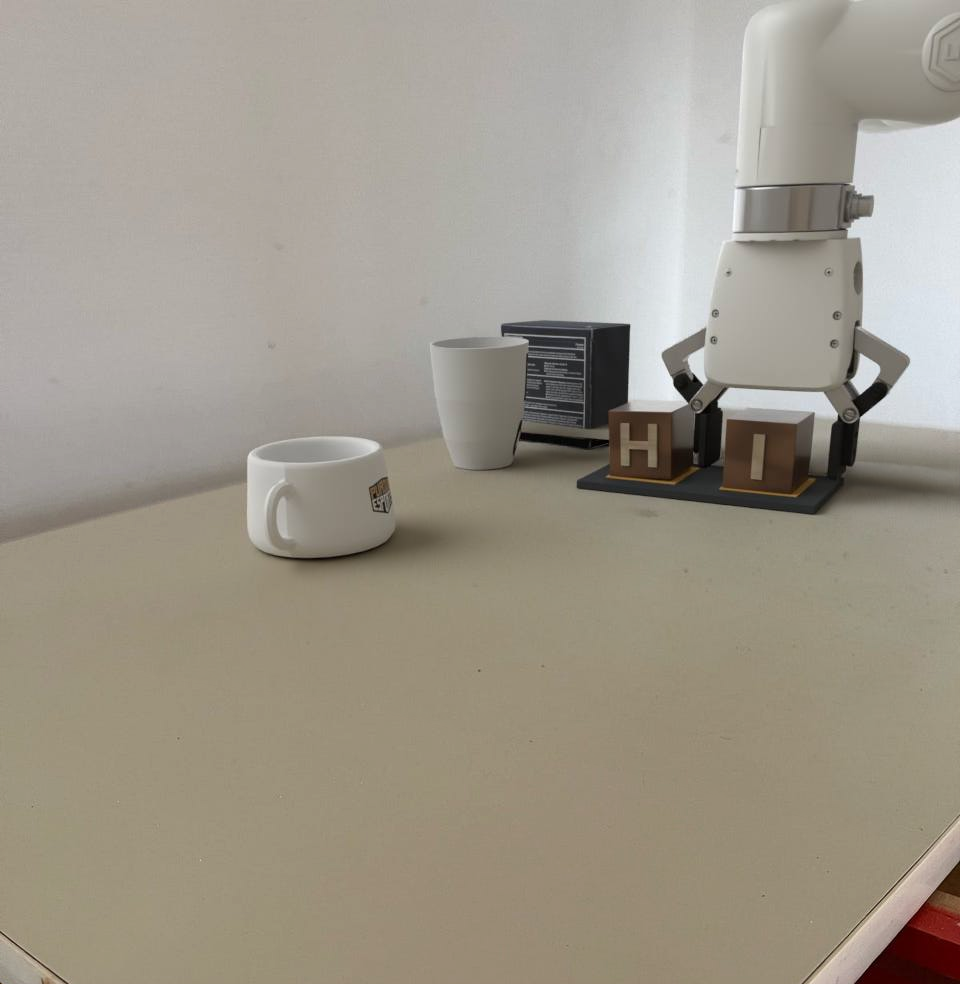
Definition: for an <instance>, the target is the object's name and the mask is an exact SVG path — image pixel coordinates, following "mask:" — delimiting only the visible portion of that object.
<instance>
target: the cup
mask: <svg viewBox="0 0 960 984" xmlns="http://www.w3.org/2000/svg"><path fill="white" fill-rule="evenodd" d="M528 344H529V341H528V340H526V339H522V338H514V337H502V336H471V337H470V336H469V337H457V338H447V339H441V340H436V341H432V342H430V343H429V352H430V363H431V371H432V382H433V389H434V397H435V401H436V407H437V411H438V417H439V422H440V426H441V432H442V435H443V439H444V441H445V444H446V448H447V450H448V452H449V455H450V458H451V461H452V464H453V466H454V467H456V468H459V469H463V470H470V471H471V470H472V471H484V470H496V469H502V468H506V467H509V466H510V465H512V464H513V461H514V458H515V454H516V452H517V447H518V444H519V441H520V440H519V437H520V434H521V432H522V426H523V421H522V420H523V413H524V406H525V399H526V392H527V368H528Z"/></svg>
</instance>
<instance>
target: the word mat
mask: <svg viewBox="0 0 960 984" xmlns="http://www.w3.org/2000/svg"><path fill="white" fill-rule="evenodd" d="M723 470H724V465H714V464H712V465H710V466H709V467H707V468H699V467H698V463H694V465H693V466H692V467H690V468H689V469H687V470H685V471H684V472H682V473H680V474H679V475H677V476H675V477H674V478H672V479H655V478H638V477H621V476H610V463H608V464H606V465H604V466H602V467H600V468H598V469H596V470H594V471H593V472H591V473H589V474H587V475H585V476H583V477H581V478H579V479H577V480H576V489H583V490H592V491H600V492H601V491H602V492H610V493H620V494H627V495H637V496H638V495H639V496H647V497H654V498H655V497H657V498H664V499H665V498H666V499H674V500H682V501H692V502H700V503H710V504H718V505H727V506H735V507H736V506H737V507H747V508H753V509H754V508H755V509H764V510H773V511H782V512H792V513H798V514H809V515H815V514H816V513H817V512H818V511H819V510H820V509H821V508H822V507H823V506H824V505H825V504H826V503H827V502H828V501H829V500H830V499H831V498H832V497H833V496H834V495H835V494H836V493H837V492H838V491H839V490H840V489H841V488H842V487H843V486H844V485H845V477H843V476H841V477H840V478H839V479H838V480H831V479H829V477H827V475H824V474H823V475H822V474H810V473H809V479H808V480H807V481H806V482H805V483H803V484H802V485H801V486H800V487H799V488H798V489H797V490H795V491H794V492H793V493H792V494H791V495H790V494H780V493H770V492H761V491H751V490H741V489H731V488H723V487H722V485H723Z"/></svg>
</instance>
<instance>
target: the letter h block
mask: <svg viewBox="0 0 960 984" xmlns="http://www.w3.org/2000/svg"><path fill="white" fill-rule="evenodd" d="M694 423H695V413H693V412H692V411H691V410H690V408H689V404H688V403H687V401H686V400H681V401H680V400H641V399H640V400H639V399H636V400H632V401H628V403H626V404H624V405H622V406H619V407H617V408H614V409H612V410H609V425H608V440H609V444H608V448H609V449H608V453H609V454H608V455H609V456H608V457H609V459H608V460H609V461H608V462H609V464H610V476H621V477H638V478H655V479H672V478H674V477H675V476H677V475H679V474H680V473H682V472H684V471H685V470H687V469H689V468H690V467H692V466H693V465H694V464H695V463H694V459H695V457H694V456H695V453H694V450H693V444H694Z"/></svg>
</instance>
